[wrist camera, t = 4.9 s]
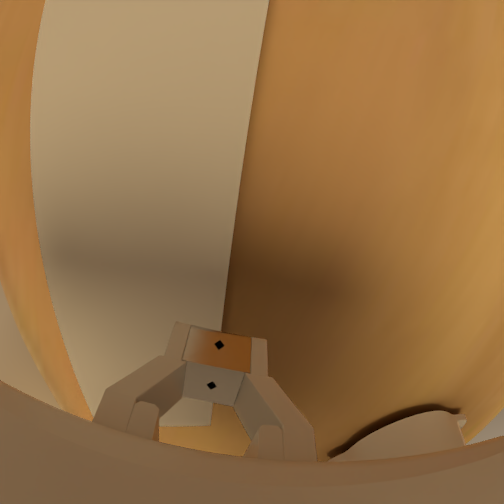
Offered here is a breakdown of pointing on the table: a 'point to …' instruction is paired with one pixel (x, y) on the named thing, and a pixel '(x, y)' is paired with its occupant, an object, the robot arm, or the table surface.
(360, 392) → the table surface
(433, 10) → the table surface
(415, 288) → the table surface
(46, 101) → the decorative molding
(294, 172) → the table surface
